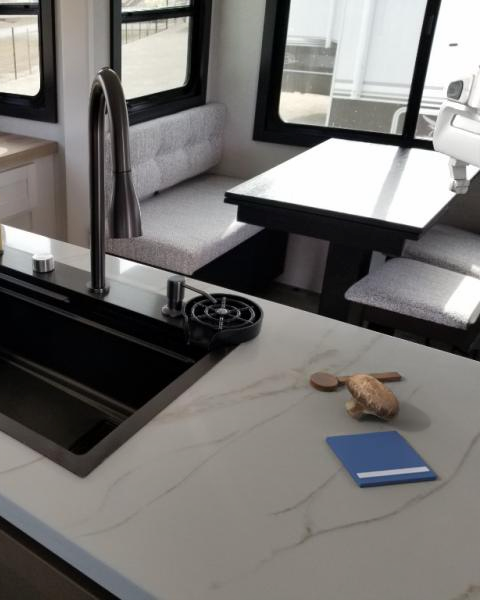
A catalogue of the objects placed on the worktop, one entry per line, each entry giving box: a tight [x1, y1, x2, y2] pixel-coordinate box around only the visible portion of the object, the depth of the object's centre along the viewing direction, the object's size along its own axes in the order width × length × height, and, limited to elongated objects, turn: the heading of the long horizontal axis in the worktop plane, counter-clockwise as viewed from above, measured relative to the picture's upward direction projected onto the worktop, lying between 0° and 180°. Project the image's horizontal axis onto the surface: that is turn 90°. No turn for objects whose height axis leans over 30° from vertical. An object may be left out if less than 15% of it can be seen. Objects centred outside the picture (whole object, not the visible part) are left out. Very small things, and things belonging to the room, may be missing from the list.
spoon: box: [309, 371, 402, 393], centre depth 98 cm, size 14×4×1 cm, turn 97°
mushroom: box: [344, 373, 400, 422], centre depth 90 cm, size 8×8×6 cm
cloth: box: [325, 430, 438, 488], centre depth 82 cm, size 10×9×1 cm
